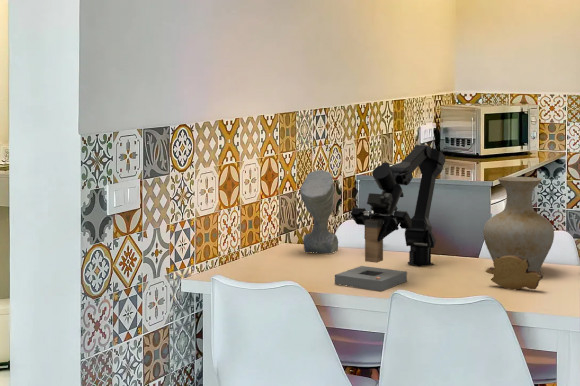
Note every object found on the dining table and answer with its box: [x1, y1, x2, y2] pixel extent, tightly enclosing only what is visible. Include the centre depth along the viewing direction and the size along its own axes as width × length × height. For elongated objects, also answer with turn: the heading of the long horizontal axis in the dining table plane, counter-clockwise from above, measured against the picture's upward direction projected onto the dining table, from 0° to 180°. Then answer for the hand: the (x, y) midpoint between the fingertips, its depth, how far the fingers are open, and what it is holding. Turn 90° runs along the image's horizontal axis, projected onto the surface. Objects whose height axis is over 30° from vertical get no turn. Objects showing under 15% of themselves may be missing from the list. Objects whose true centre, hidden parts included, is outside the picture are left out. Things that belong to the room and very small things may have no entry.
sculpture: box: [300, 169, 339, 254], centre depth 304 cm, size 12×23×30 cm, turn 170°
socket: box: [334, 265, 408, 292], centre depth 256 cm, size 16×16×3 cm
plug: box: [364, 219, 384, 264], centre depth 254 cm, size 4×4×12 cm
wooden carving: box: [485, 255, 544, 290], centre depth 246 cm, size 16×5×10 cm, turn 61°
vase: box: [482, 176, 555, 274], centre depth 268 cm, size 22×22×30 cm
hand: (371, 240), depth 253 cm, fingers closed on plug, 4 cm apart
